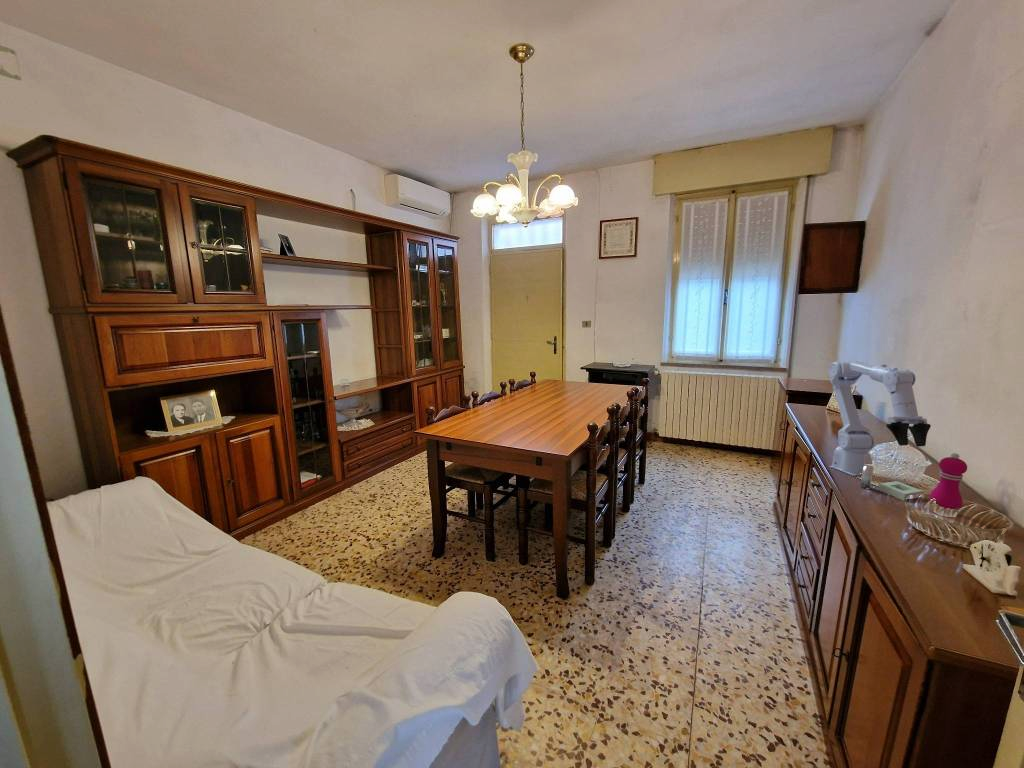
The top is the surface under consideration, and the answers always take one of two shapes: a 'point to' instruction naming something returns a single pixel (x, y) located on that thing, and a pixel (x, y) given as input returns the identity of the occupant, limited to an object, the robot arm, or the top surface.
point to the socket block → (899, 490)
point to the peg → (866, 476)
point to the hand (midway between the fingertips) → (912, 445)
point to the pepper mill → (949, 482)
